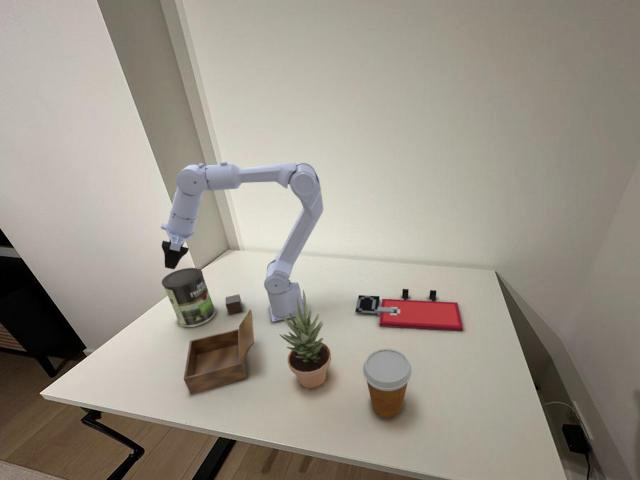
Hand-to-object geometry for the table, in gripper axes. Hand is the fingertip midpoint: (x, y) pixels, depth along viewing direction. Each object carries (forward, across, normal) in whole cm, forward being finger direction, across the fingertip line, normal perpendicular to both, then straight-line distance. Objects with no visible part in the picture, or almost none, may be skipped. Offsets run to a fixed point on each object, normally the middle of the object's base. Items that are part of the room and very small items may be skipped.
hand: (171, 259), depth 82 cm
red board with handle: (-12, +19, +61) cm, 65 cm away
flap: (+3, +21, +19) cm, 28 cm away
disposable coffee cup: (-5, +47, +45) cm, 65 cm away
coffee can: (+19, -2, +10) cm, 22 cm away
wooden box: (+13, +22, +16) cm, 30 cm away
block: (+13, -1, +20) cm, 24 cm away
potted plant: (+2, +34, +34) cm, 48 cm away
